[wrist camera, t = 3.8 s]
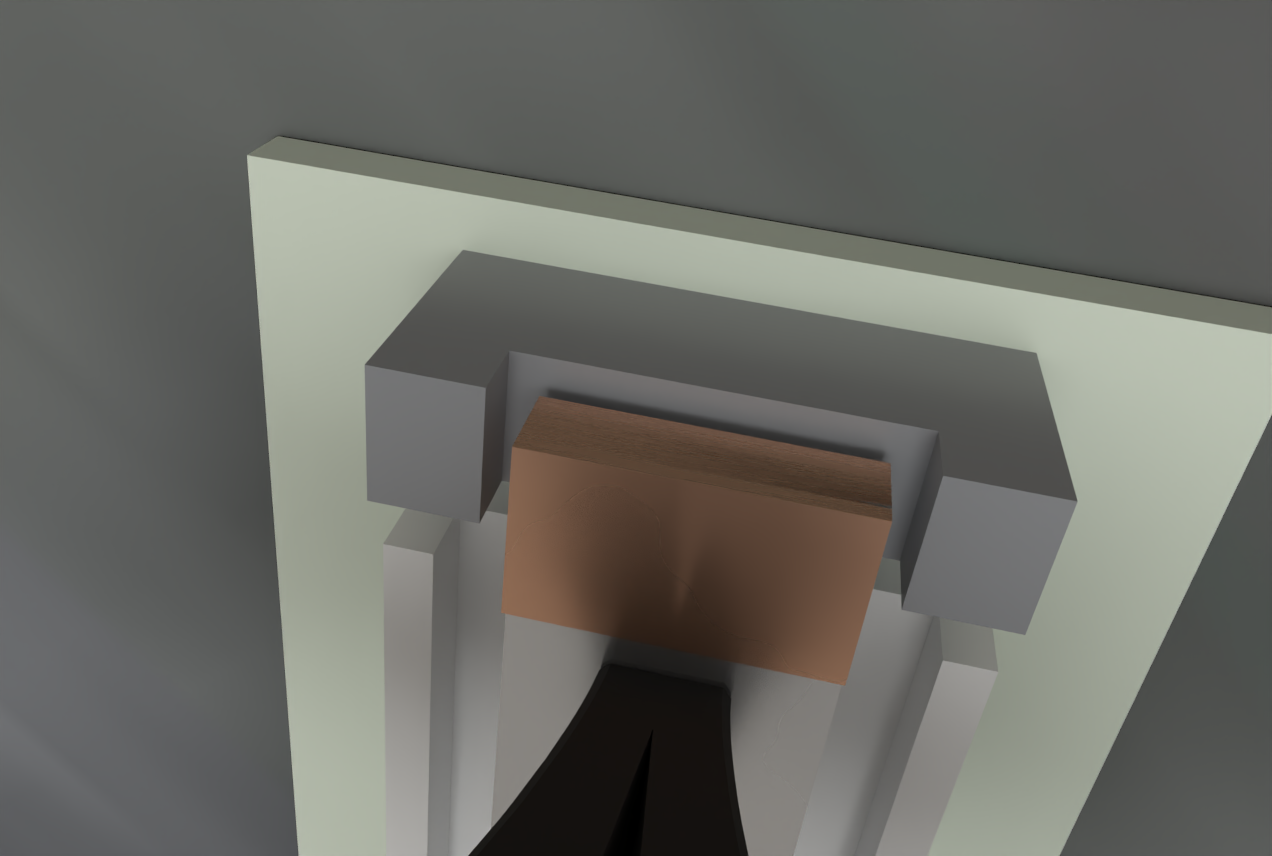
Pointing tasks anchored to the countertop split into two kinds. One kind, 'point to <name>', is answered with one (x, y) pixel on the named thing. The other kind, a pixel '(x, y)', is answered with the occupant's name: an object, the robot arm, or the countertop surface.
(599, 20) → the countertop surface
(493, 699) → the board
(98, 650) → the countertop surface
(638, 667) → the strip
